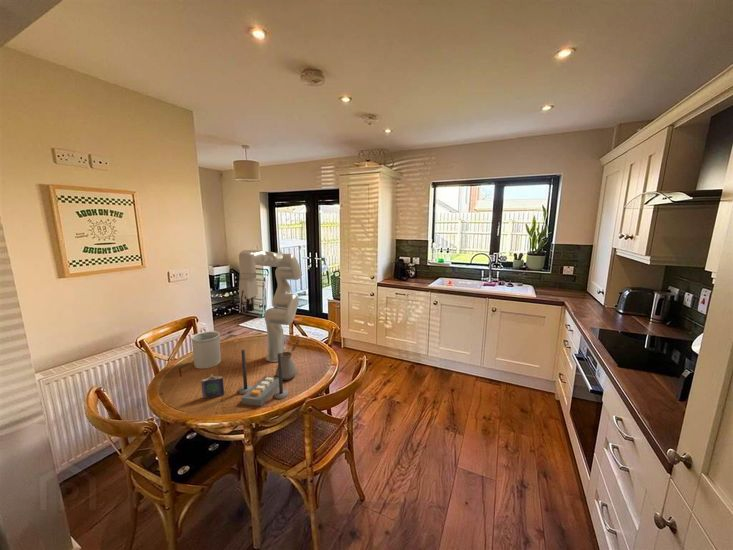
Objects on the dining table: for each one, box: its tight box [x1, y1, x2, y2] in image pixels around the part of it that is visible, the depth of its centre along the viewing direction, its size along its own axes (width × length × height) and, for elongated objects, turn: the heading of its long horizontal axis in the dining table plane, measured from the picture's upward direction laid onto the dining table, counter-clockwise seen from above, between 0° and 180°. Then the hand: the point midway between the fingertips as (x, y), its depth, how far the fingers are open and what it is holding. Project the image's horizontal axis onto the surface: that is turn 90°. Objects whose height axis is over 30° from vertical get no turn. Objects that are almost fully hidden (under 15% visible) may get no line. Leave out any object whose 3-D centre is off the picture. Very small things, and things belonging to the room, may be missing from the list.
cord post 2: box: [273, 353, 289, 400], centre depth 138 cm, size 6×6×21 cm
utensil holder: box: [190, 330, 221, 369], centre depth 170 cm, size 15×15×18 cm
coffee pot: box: [274, 339, 300, 381], centre depth 160 cm, size 21×12×15 cm, turn 166°
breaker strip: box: [240, 375, 279, 407], centre depth 141 cm, size 20×10×4 cm, turn 169°
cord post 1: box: [238, 349, 253, 395], centre depth 141 cm, size 6×6×21 cm
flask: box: [200, 373, 225, 400], centre depth 138 cm, size 9×3×11 cm, turn 109°
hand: (250, 310), depth 150 cm, fingers closed
